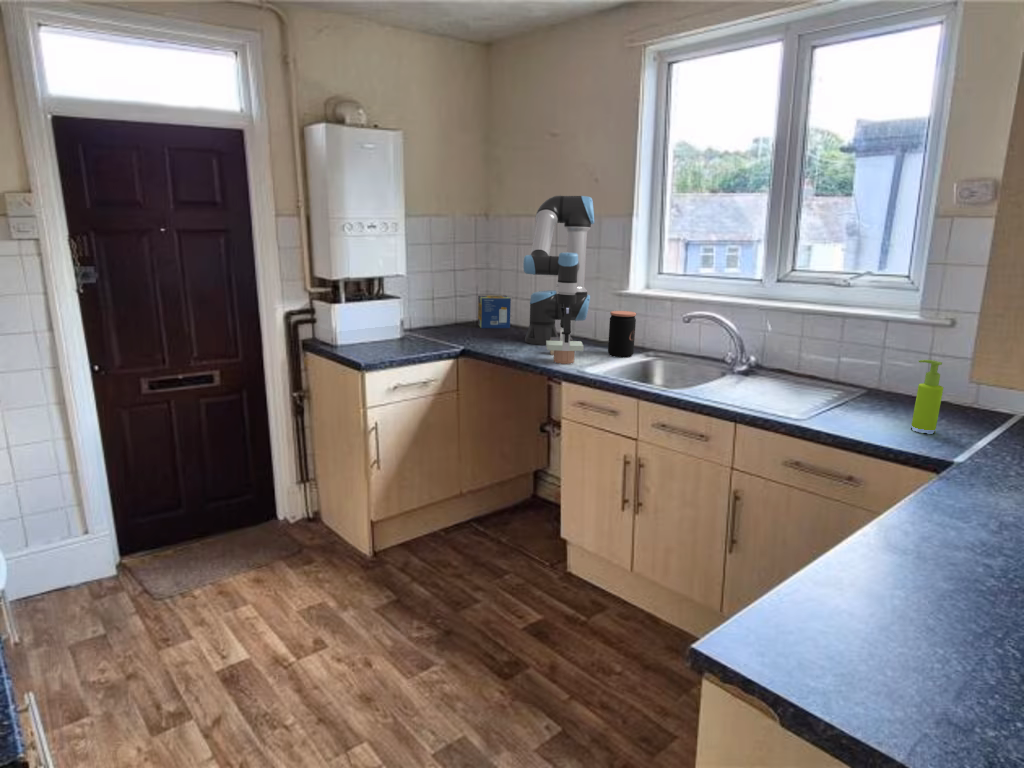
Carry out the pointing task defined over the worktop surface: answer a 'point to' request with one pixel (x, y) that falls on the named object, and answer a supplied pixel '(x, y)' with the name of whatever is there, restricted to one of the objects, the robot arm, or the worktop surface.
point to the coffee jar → (621, 333)
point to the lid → (558, 344)
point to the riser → (556, 340)
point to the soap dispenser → (928, 399)
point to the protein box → (494, 311)
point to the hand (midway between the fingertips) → (564, 347)
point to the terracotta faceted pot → (564, 357)
